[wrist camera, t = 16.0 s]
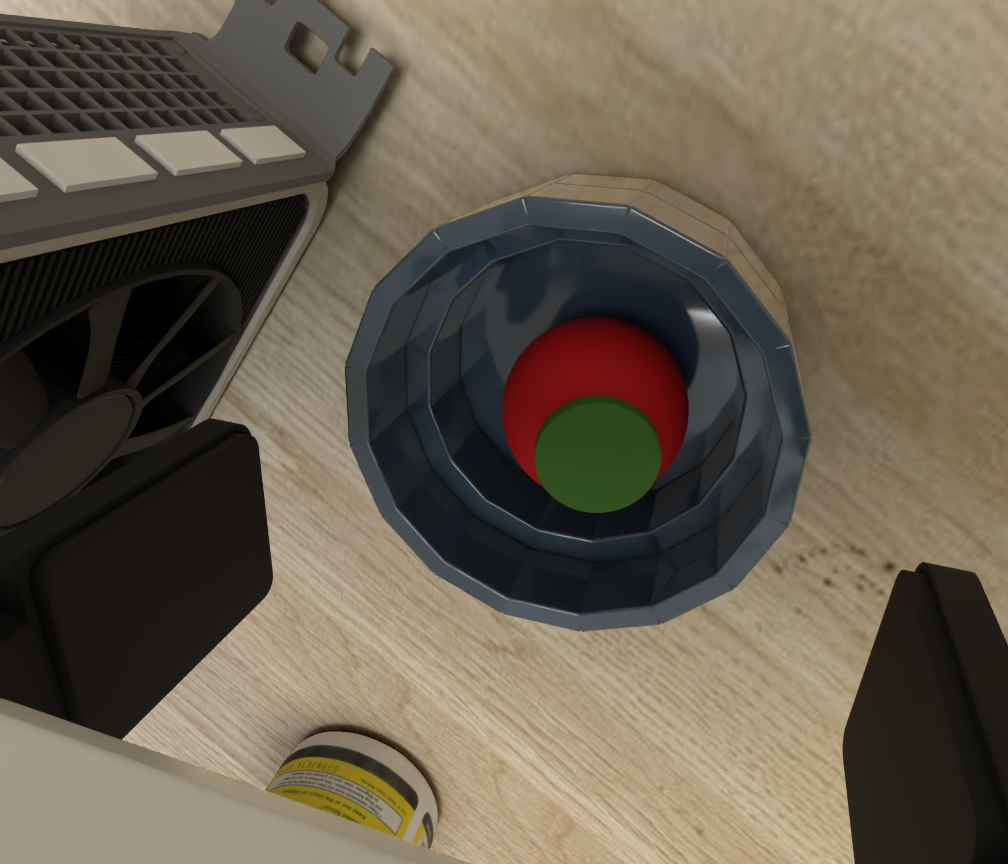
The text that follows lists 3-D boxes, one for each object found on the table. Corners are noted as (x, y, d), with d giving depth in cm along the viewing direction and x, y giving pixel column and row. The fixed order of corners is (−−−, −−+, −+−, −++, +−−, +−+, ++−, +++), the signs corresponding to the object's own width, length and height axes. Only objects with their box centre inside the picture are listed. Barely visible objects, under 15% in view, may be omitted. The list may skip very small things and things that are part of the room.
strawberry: (687, 298, 16) (721, 368, 13) (663, 453, 18) (688, 554, 15) (511, 289, 17) (495, 355, 13) (505, 442, 19) (489, 539, 15)
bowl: (835, 190, 15) (867, 225, 11) (751, 553, 19) (752, 673, 15) (427, 159, 17) (333, 178, 13) (427, 489, 21) (355, 580, 17)
